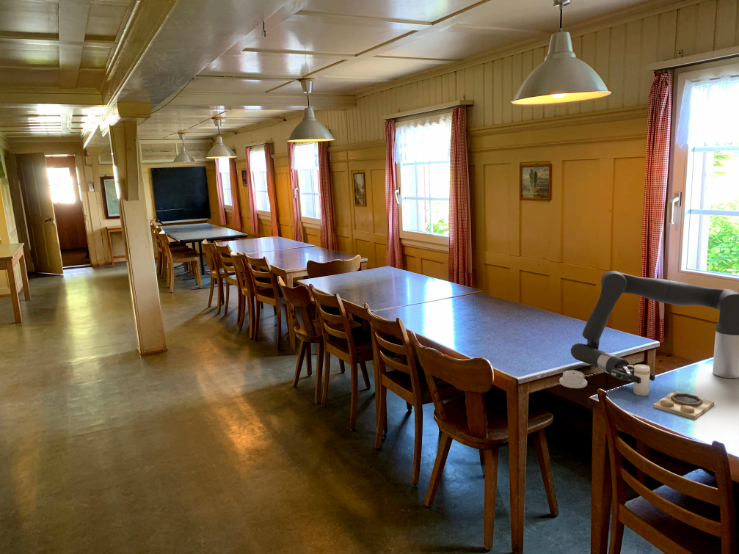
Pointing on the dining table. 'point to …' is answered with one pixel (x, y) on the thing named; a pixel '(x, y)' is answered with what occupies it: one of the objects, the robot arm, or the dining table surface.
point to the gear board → (684, 404)
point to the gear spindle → (642, 379)
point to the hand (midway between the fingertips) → (647, 379)
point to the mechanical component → (573, 379)
